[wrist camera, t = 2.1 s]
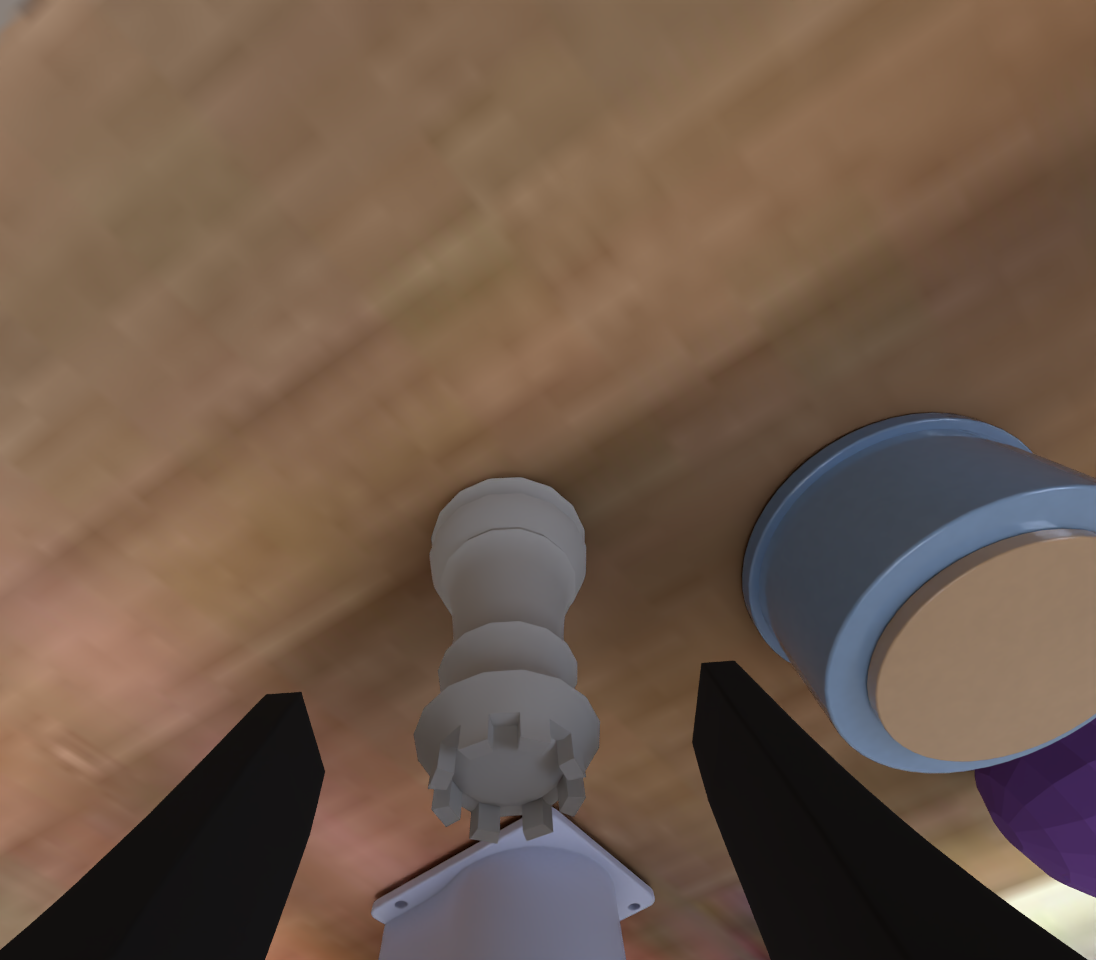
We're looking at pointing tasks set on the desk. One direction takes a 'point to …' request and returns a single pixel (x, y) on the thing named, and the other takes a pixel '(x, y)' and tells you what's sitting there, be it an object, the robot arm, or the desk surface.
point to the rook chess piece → (507, 661)
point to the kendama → (1049, 806)
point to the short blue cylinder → (933, 591)
